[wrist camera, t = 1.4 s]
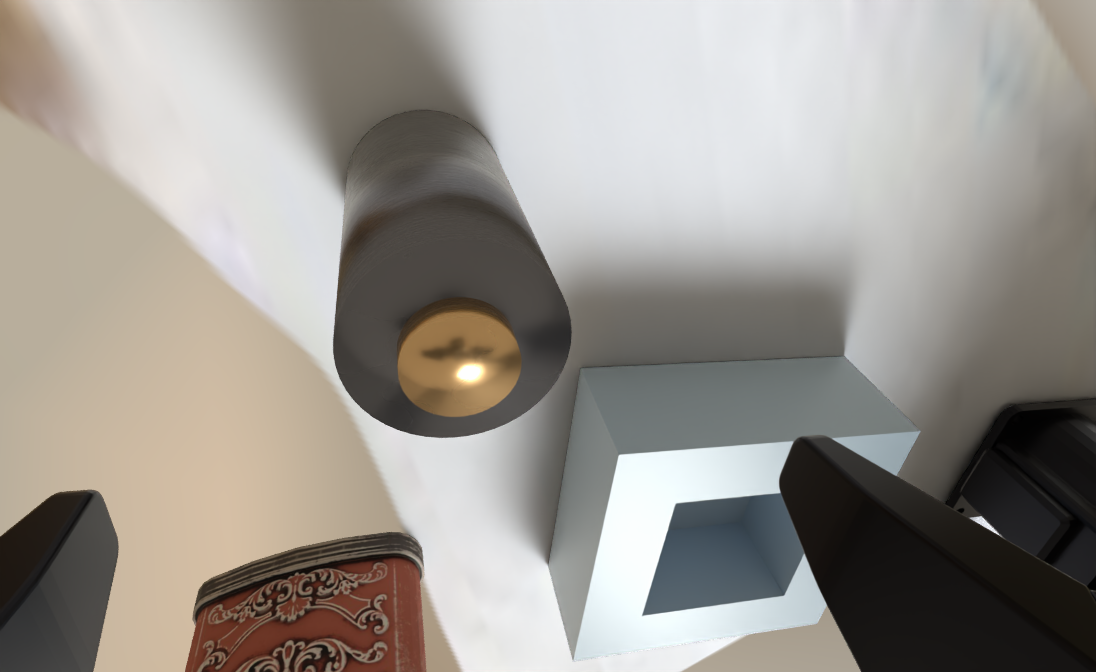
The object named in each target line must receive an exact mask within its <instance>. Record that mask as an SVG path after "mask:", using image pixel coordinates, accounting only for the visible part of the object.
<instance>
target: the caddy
mask: <svg viewBox="0 0 1096 672" xmlns="http://www.w3.org/2000/svg"><path fill="white" fill-rule="evenodd" d="M920 432H921V431H920V430H919V429H918V428H917V427H916V426H915V425H914V424H913V423H912V422H911V421H910V420H909V419H908V418H907V417H906V416H905V415H904V414H903V413H902V412H901V411H900V410H899V409H898V408H897V407H896V406H895V405H894V404H893V403H892V402H891V401H890V400H889V399H887V398H886V397H885V396H884V395H883V394H882V393H881V392H880V391H879V390H878V389H877V388H876V387H875V386H874V385H873V384H872V383H871V382H870V381H869V380H868V379H867V378H866V377H865V376H864V375H863V374H862V373H861V372H860V371H859V370H858V369H857V368H856V367H855V366H854V365H853V364H852V363H851V362H850V361H849V360H848V359H847V358H846V357H845V356H840V357H818V358H795V359H773V360H750V361H728V362H705V363H683V364H660V365H638V366H615V367H593V368H581V370H580V376H579V382H578V388H577V394H576V400H575V406H574V412H573V418H572V425H571V431H570V437H569V443H568V449H567V455H566V461H565V467H564V473H563V480H562V486H561V492H560V498H559V504H558V510H557V516H556V522H555V528H554V534H553V541H552V547H551V553H550V559H549V565H548V568H549V571H550V575H551V579H552V583H553V587H554V590H555V594H556V598H557V602H558V606H559V610H560V613H561V617H562V621H563V625H564V629H565V632H566V636H567V640H568V644H569V648H570V651H571V655H572V659H573V662H574V661H580V660H587V659H593V658H599V657H606V656H612V655H619V654H625V653H632V652H638V651H644V650H651V649H657V648H664V647H670V646H677V645H683V644H690V643H696V642H702V641H709V640H715V639H722V638H728V637H735V636H741V635H747V634H754V633H760V632H766V631H773V630H779V629H786V628H793V627H799V626H805V625H811V624H817V623H818V621H819V619H820V617H821V615H822V613H823V611H824V610H825V608H826V606H827V604H826V602H825V600H824V598H823V596H822V594H821V592H820V590H819V588H818V586H817V583H816V581H815V579H814V576H813V574H812V572H811V569H810V567H809V564H808V562H807V559H806V557H805V554H804V552H803V549H802V546H801V544H800V541H799V539H798V536H797V534H796V531H795V529H794V526H793V524H792V521H791V519H790V516H789V514H788V511H787V509H786V506H785V503H784V501H783V498H782V496H781V493H780V489H779V476H780V473H781V471H782V468H783V466H784V463H785V461H786V458H787V456H788V454H789V451H790V449H791V446H792V444H793V442H794V441H795V440H796V439H797V438H798V437H800V436H809V435H825V436H828V437H830V438H832V439H833V440H835V441H837V442H838V443H840V444H842V445H844V446H845V447H847V448H849V449H851V450H852V451H854V452H856V453H857V454H859V455H861V456H863V457H864V458H866V459H868V460H869V461H871V462H873V463H875V464H876V465H878V466H880V467H882V468H883V469H885V470H887V471H888V472H890V473H892V474H894V475H895V476H897V474H898V472H899V470H900V469H901V467H902V465H903V463H904V461H905V459H906V458H907V456H908V454H909V452H910V450H911V448H912V446H913V445H914V443H915V441H916V439H917V437H918V435H919V433H920Z"/></svg>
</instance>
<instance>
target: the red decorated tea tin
mask: <svg viewBox="0 0 1096 672" xmlns="http://www.w3.org/2000/svg"><path fill="white" fill-rule="evenodd" d="M423 577H424V564H423V553H422V547H421V546H420V544H419V543H418V541H417V540H415V539H414V538H413V537H411V536H410V535H406V534H403V533H400V532H387V533H379V534H371V535H363V536H355V537H348V538H342V539H337V540H332V541H327V542H322V543H318V544H313V545H308V546H303V547H299V548H295V549H292V550H288V551H285V552H282V553H279V554H275V555H272V556H269V557H266V558H262V559H259V560H256V561H253V562H250V563H248V564H245V565H243V566H240V567H238V568H235V569H233V570H230V571H228V572H225V573H223V574H220V575H218V576H216V577H213V578H211V579H209V580H208V581H206V582H204V584H203V585H202V586H201V587H200V589H199V591H198V595H197V599H196V603H195V607H194V611H193V621H194V624H195V626H196V628H195V632H194V636H193V640H192V645H191V648H190V653H189V657H188V661H187V665H186V670H185V672H426V658H425V644H424V631H423V616H422V603H421V588H420V584H421V583H422V580H423Z"/></svg>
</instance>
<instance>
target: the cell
mask: <svg viewBox="0 0 1096 672" xmlns="http://www.w3.org/2000/svg"><path fill="white" fill-rule="evenodd" d="M570 345H571V320H570V315H569V311H568V307H567V305H566V302H565V300H564V298H563V295H562V293H561V291H560V289H559V287H558V285H557V283H556V280H555V278H554V276H553V274H552V272H551V270H550V268H549V266H548V264H547V261H546V259H545V257H544V255H543V253H542V251H541V249H540V247H539V245H538V242H537V240H536V238H535V236H534V234H533V232H532V230H531V228H530V226H529V223H528V221H527V219H526V217H525V215H524V213H523V211H522V209H521V207H520V204H519V202H518V200H517V198H516V196H515V194H514V192H513V190H512V188H511V185H510V183H509V181H508V179H507V177H506V175H505V173H504V171H503V169H502V166H501V164H500V162H499V160H498V158H497V156H496V154H495V152H494V150H493V149H492V147H491V145H490V144H489V142H488V141H487V140H486V139H485V137H484V136H483V135H482V134H481V133H480V132H479V131H478V130H477V129H475V128H474V127H473V126H471V125H470V124H469V123H467V122H465V121H463V120H461V119H460V118H458V117H455V116H452V115H450V114H447V113H443V112H439V111H431V110H415V111H409V112H404V113H400V114H397V115H394V116H392V117H390V118H387V119H385V120H384V121H382V122H380V123H379V124H377V125H376V126H375V127H373V128H372V129H371V130H370V131H369V132H368V133H367V134H366V135H365V136H364V137H363V138H362V139H361V141H360V142H359V144H358V145H357V147H356V149H355V151H354V153H353V155H352V157H351V160H350V163H349V166H348V172H347V181H346V193H345V205H344V217H343V229H342V241H341V253H340V265H339V277H338V289H337V302H336V314H335V326H334V338H333V354H334V360H335V365H336V369H337V372H338V374H339V377H340V380H341V381H342V383H343V385H344V387H345V389H346V391H347V392H348V393H349V395H350V396H351V397H352V399H353V400H354V401H355V402H356V403H357V404H358V405H359V406H360V407H361V408H362V409H363V410H364V411H366V412H367V413H368V414H370V415H371V416H372V417H373V418H375V419H377V420H379V421H380V422H382V423H384V424H386V425H388V426H390V427H393V428H395V429H397V430H400V431H403V432H407V433H410V434H415V435H420V436H425V437H438V438H448V437H461V436H469V435H473V434H478V433H482V432H485V431H489V430H492V429H495V428H497V427H499V426H502V425H504V424H506V423H509V422H510V421H512V420H514V419H516V418H518V417H519V416H521V415H522V414H524V413H525V412H527V411H528V410H529V409H531V408H532V407H533V406H534V405H535V404H537V403H538V402H539V401H540V400H541V399H542V398H543V397H544V396H545V395H546V394H547V392H548V391H549V390H550V389H551V388H552V386H553V385H554V383H555V382H556V381H557V379H558V377H559V375H560V374H561V372H562V370H563V368H564V365H565V363H566V360H567V357H568V354H569V349H570Z"/></svg>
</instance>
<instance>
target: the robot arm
mask: <svg viewBox="0 0 1096 672" xmlns="http://www.w3.org/2000/svg"><path fill="white" fill-rule="evenodd" d="M779 489H780V493H781V496H782V498H783V501H784V503H785V506H786V509H787V511H788V514H789V516H790V519H791V521H792V524H793V526H794V529H795V531H796V534H797V536H798V539H799V541H800V544H801V546H802V549H803V552H804V554H805V557H806V559H807V562H808V564H809V567H810V569H811V572H812V574H813V576H814V579H815V581H816V583H817V586H818V588H819V590H820V592H821V594H822V596H823V598H824V600H825V602H826V604H827V606H828V608H829V610H830V612H831V614H832V616H833V618H834V620H835V622H836V624H837V626H838V628H839V629H840V631H841V634H842V635H843V637H844V639H845V641H846V643H847V645H848V647H849V649H850V651H851V653H852V655H853V657H854V659H855V661H856V663H857V665H858V667H859V669H860V671H861V672H1096V399H1090V400H1076V401H1061V402H1047V403H1033V404H1018V405H1012V406H1010V407H1008V408H1007V409H1005V410H1004V411H1003V412H1002V413H1001V415H1000V416H999V418H998V420H997V421H996V423H995V424H994V426H993V428H992V429H991V431H990V433H989V434H988V436H987V437H986V439H985V441H984V442H983V444H982V446H981V447H980V449H979V451H978V452H977V454H976V455H975V457H974V459H973V460H972V462H971V464H970V465H969V467H968V468H967V470H966V472H965V473H964V475H963V477H962V478H961V480H960V481H959V483H958V485H957V486H956V488H955V490H954V491H953V493H952V494H951V496H950V498H949V499H948V501H947V503H946V504H944V503H942V502H940V501H939V500H937V499H935V498H933V497H932V496H930V495H928V494H926V493H925V492H923V491H921V490H920V489H918V488H916V487H914V486H913V485H911V484H909V483H907V482H906V481H904V480H902V479H901V478H899V477H897V476H895V475H894V474H892V473H890V472H888V471H887V470H885V469H883V468H882V467H880V466H878V465H876V464H875V463H873V462H871V461H869V460H868V459H866V458H864V457H863V456H861V455H859V454H857V453H856V452H854V451H852V450H851V449H849V448H847V447H845V446H844V445H842V444H840V443H838V442H837V441H835V440H833V439H832V438H830V437H828V436H825V435H809V436H800V437H798V438H797V439H796V440H795V441H794V442H793V444H792V446H791V449H790V451H789V454H788V456H787V458H786V461H785V463H784V466H783V468H782V471H781V473H780V476H779ZM978 516H982V517H983V518H984V519H985V520H986V521H987V522H988V523H989V524H990V525H991V526H992V527H993V528H994V529H995V530H996V532H997V533H998V534H999V535H1000V536H999V535H997V534H996V533H994V532H992V531H990V530H989V529H987V528H985V527H983V526H982V525H980V524H978V523H977V522H975V521H973V520H971V519H970V517H978ZM117 558H118V539H117V535H116V532H115V529H114V527H113V524H112V521H111V518H110V516H109V513H108V510H107V507H106V504H105V502H104V499H103V497H102V495H101V494H100V493H99V492H98V491H95V490H81V491H67V492H59V493H56V494H54V495H52V496H50V497H49V498H48V499H46V500H45V501H44V502H42V503H41V504H40V505H39V506H38V507H36V508H35V509H34V510H33V511H31V512H30V513H29V514H28V515H26V516H25V517H24V518H23V519H21V520H20V521H19V522H18V523H16V524H15V525H14V526H13V527H11V528H10V529H9V530H8V531H6V533H4V534H3V535H2V536H0V672H93V670H94V666H95V661H96V656H97V652H98V647H99V643H100V638H101V633H102V628H103V624H104V619H105V614H106V610H107V605H108V600H109V595H110V591H111V586H112V582H113V577H114V572H115V567H116V563H117Z"/></svg>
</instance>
